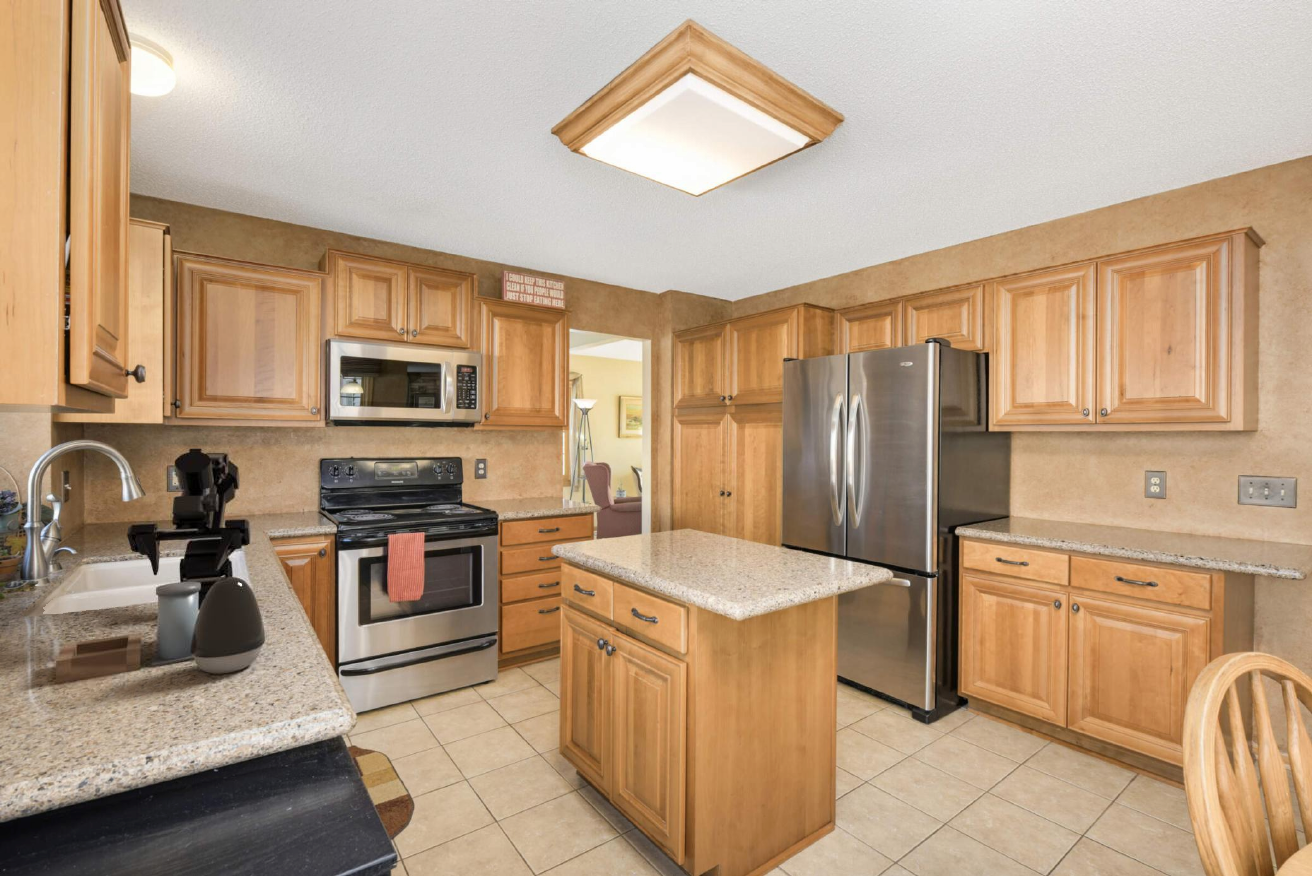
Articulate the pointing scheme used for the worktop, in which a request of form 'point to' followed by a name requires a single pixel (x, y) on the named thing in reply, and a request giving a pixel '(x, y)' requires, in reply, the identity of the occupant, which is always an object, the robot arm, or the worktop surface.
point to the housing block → (98, 658)
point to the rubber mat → (164, 662)
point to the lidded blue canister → (176, 619)
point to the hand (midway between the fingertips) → (186, 571)
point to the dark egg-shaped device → (228, 628)
